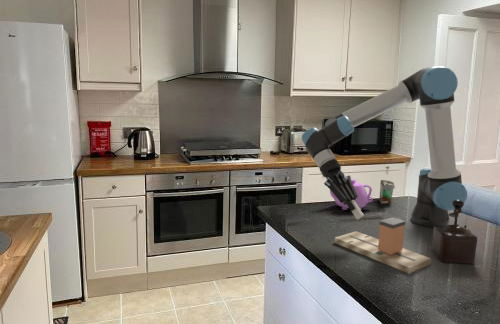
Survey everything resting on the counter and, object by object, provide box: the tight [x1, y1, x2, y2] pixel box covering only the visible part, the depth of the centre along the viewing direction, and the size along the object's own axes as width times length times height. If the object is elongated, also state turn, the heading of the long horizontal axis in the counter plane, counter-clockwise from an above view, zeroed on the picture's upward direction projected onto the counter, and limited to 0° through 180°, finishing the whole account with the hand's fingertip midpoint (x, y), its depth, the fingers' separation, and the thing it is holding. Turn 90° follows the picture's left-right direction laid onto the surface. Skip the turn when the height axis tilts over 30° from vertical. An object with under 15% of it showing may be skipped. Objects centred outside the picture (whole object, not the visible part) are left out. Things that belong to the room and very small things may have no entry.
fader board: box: [334, 231, 432, 275], centre depth 138 cm, size 30×12×2 cm, turn 37°
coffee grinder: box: [431, 200, 478, 265], centre depth 137 cm, size 16×11×18 cm
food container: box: [379, 179, 396, 205], centre depth 200 cm, size 12×6×10 cm, turn 168°
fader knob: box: [378, 217, 406, 255], centre depth 134 cm, size 5×7×10 cm
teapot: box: [329, 178, 374, 211], centre depth 189 cm, size 22×16×14 cm
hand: (360, 217), depth 144 cm, fingers closed
